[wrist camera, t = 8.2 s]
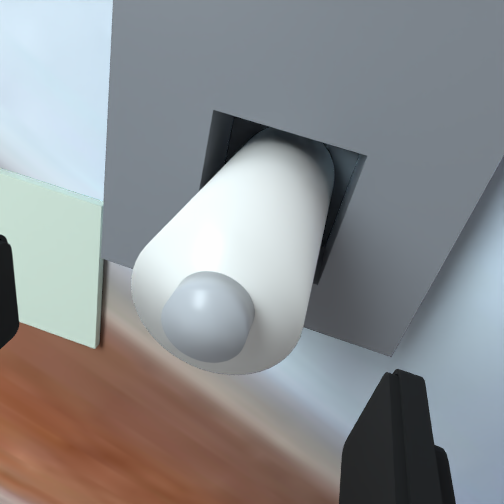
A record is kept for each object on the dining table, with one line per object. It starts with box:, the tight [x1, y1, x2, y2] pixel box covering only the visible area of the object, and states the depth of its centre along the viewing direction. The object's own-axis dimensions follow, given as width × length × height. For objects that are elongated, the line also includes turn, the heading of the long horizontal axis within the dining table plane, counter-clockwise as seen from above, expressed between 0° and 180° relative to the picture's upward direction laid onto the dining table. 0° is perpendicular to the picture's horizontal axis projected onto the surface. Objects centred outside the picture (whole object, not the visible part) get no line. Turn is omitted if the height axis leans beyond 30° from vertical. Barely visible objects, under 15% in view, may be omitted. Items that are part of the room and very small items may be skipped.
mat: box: [0, 168, 104, 349], centre depth 29 cm, size 12×12×1 cm
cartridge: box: [131, 127, 335, 375], centre depth 17 cm, size 5×5×13 cm
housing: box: [101, 0, 504, 357], centre depth 18 cm, size 16×24×4 cm, turn 167°
